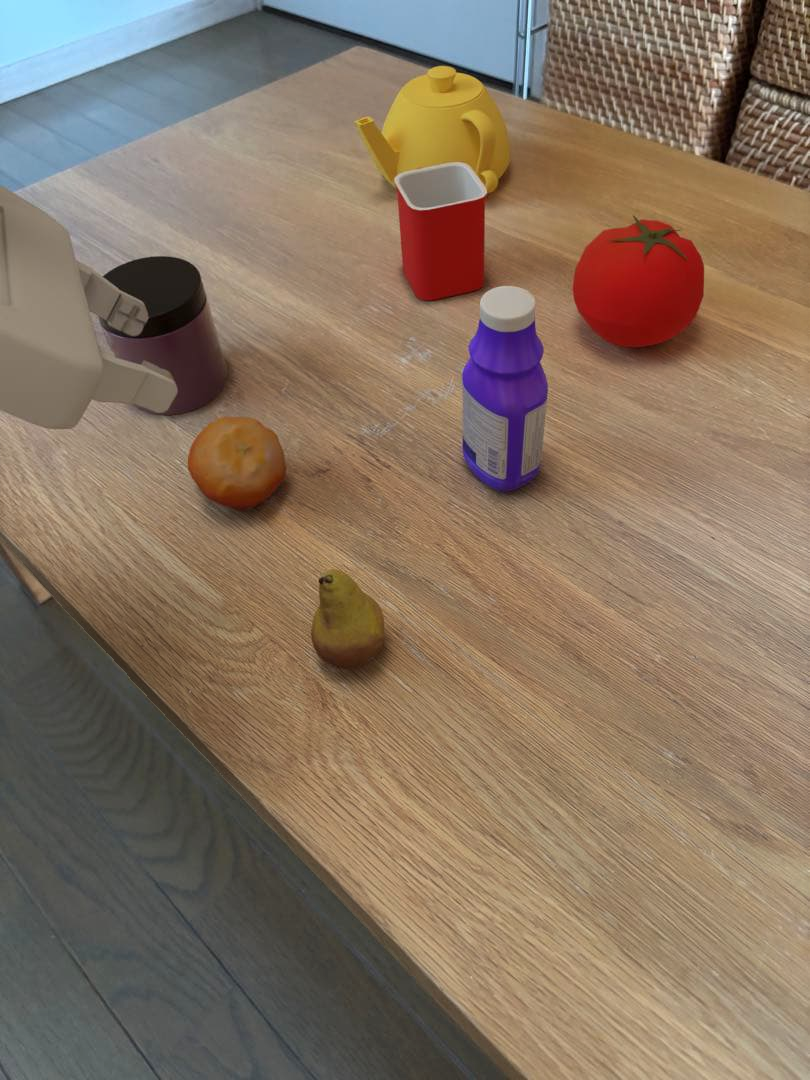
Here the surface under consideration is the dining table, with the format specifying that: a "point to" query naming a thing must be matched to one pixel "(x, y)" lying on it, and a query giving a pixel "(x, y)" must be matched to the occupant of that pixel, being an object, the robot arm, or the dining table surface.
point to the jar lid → (160, 291)
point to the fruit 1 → (237, 462)
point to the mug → (442, 229)
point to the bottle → (504, 391)
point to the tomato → (639, 284)
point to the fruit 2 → (346, 622)
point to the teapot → (440, 128)
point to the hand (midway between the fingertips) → (155, 355)
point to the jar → (180, 359)
